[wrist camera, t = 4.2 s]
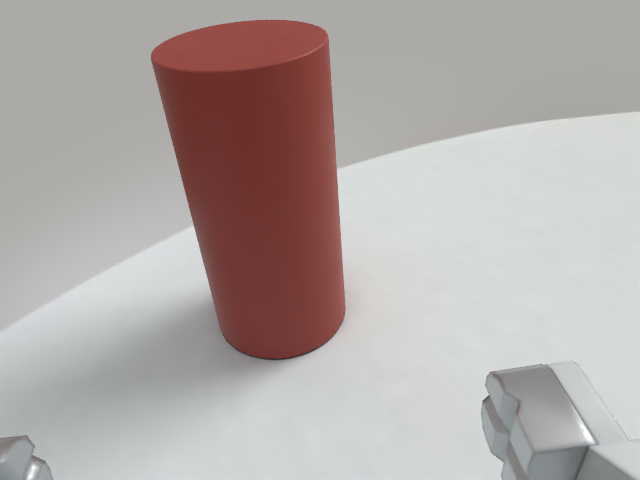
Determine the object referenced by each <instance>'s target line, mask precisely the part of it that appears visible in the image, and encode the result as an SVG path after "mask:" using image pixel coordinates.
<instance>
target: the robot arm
mask: <svg viewBox="0 0 640 480" xmlns="http://www.w3.org/2000/svg"><path fill="white" fill-rule="evenodd" d="M485 386H486V388H487V391H488V393H489V395H488V396H487V397H486V398H485V399H484V400H483V401H482V409H481V417H482V426H483V431H484V434H485V438H486V441H487V443H488V446H489V448H490V451H491V453H492V454H493V455H495V456H496V457H497V458H499V459H500V460H501V461H502V462H504V464H503V469H502V473H501V478H502V480H640V440H639V439H637V440H629V438H628V437H627V435H626V434H625V432H624V431H623V429H622V428H621V426H620V425H619V423H618V422H617V420H616V419H615V417H614V416H613V415H612V413H611V412H610V410H609V409H608V407H607V406H606V404H605V403H604V401H603V400H602V398H601V397H600V395H599V394H598V392H597V391H596V389H595V388H594V386H593V385H592V383H591V382H590V380H589V379H588V377H587V376H586V374H585V373H584V371H583V370H582V368H581V367H580V365H578V364H577V363H576V362H574V361H566V362H559V363H552V364H546V365H543V364H539V365H533V366H526V367H519V368H513V369H506V370H499V371H492V372H490V373H489V374H488V375H487V378H486V383H485ZM34 448H35V445H34V444H33V443H32V441H31V440H30V439H29V438H28V436H27V435H24V436H15V437H6V438H0V480H53V479H52V475H51V471H50V468H49V467H48V465H47V463H46V462H45V461H44V460H42V459H40V458H37V457H35V456H33V455H32V453H33V450H34Z"/></svg>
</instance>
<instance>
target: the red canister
mask: <svg viewBox="0 0 640 480" xmlns="http://www.w3.org/2000/svg"><path fill="white" fill-rule="evenodd" d="M151 61H152V65H153V69H154V72H155V77H156V80H157V84H158V88H159V92H160V96H161V100H162V104H163V108H164V111H165V115H166V119H167V123H168V127H169V131H170V135H171V139H172V142H173V146H174V150H175V154H176V158H177V162H178V165H179V169H180V173H181V177H182V181H183V185H184V189H185V193H186V196H187V200H188V204H189V208H190V212H191V216H192V220H193V224H194V228H195V231H196V235H197V239H198V243H199V247H200V251H201V255H202V259H203V262H204V266H205V270H206V274H207V278H208V282H209V286H210V290H211V293H212V297H213V301H214V305H215V309H216V313H217V317H218V321H219V324H220V328H221V331H222V333H223V335H224V337H225V338H226V340H227V341H228V342H229V343H230V344H231V345H232V346H234V347H235V348H236V349H238V350H240V351H242V352H243V353H246V354H249V355H251V356H255V357H260V358H268V359H279V358H288V357H294V356H298V355H301V354H304V353H307V352H309V351H312V350H314V349H316V348H318V347H319V346H321V345H322V344H324V343H325V342H326V341H328V340H329V339H330V338H331V337H332V336H333V335H334V334H335V333H336V331H337V330H338V329H339V327H340V325H341V323H342V321H343V318H344V315H345V296H344V280H343V264H342V248H341V232H340V216H339V200H338V184H337V168H336V151H335V136H334V120H333V105H332V87H331V71H330V55H329V39H328V34H327V33H326V31H325V30H323V29H322V28H320V27H318V26H315V25H312V24H308V23H304V22H298V21H287V20H255V21H242V22H234V23H227V24H220V25H215V26H210V27H205V28H201V29H197V30H194V31H190V32H187V33H184V34H181V35H178V36H176V37H173V38H171V39H169V40H167V41H165V42H163V43H161V44H160V45H158V46H157V47H156V48H155V49H154V50H153V51H152V54H151Z"/></svg>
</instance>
